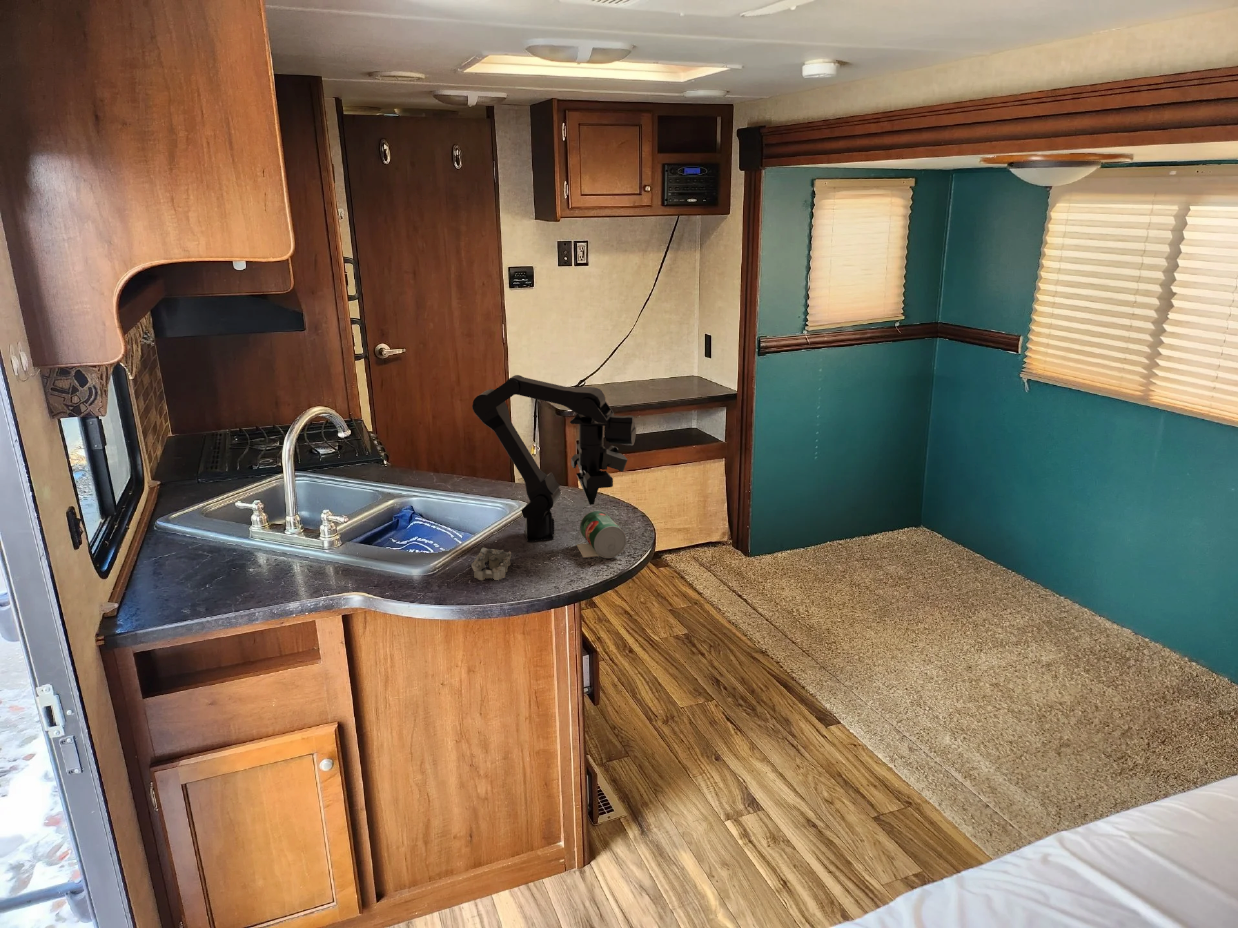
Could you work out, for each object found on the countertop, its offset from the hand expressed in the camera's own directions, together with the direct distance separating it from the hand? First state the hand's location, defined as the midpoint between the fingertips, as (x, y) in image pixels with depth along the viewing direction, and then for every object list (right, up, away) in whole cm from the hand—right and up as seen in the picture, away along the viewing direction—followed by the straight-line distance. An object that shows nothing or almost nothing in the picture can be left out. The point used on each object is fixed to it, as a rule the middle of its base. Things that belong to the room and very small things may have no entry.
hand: (591, 504), depth 200 cm
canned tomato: (+1, -5, +1) cm, 5 cm away
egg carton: (-22, -15, -13) cm, 29 cm away
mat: (+1, -11, -2) cm, 11 cm away
